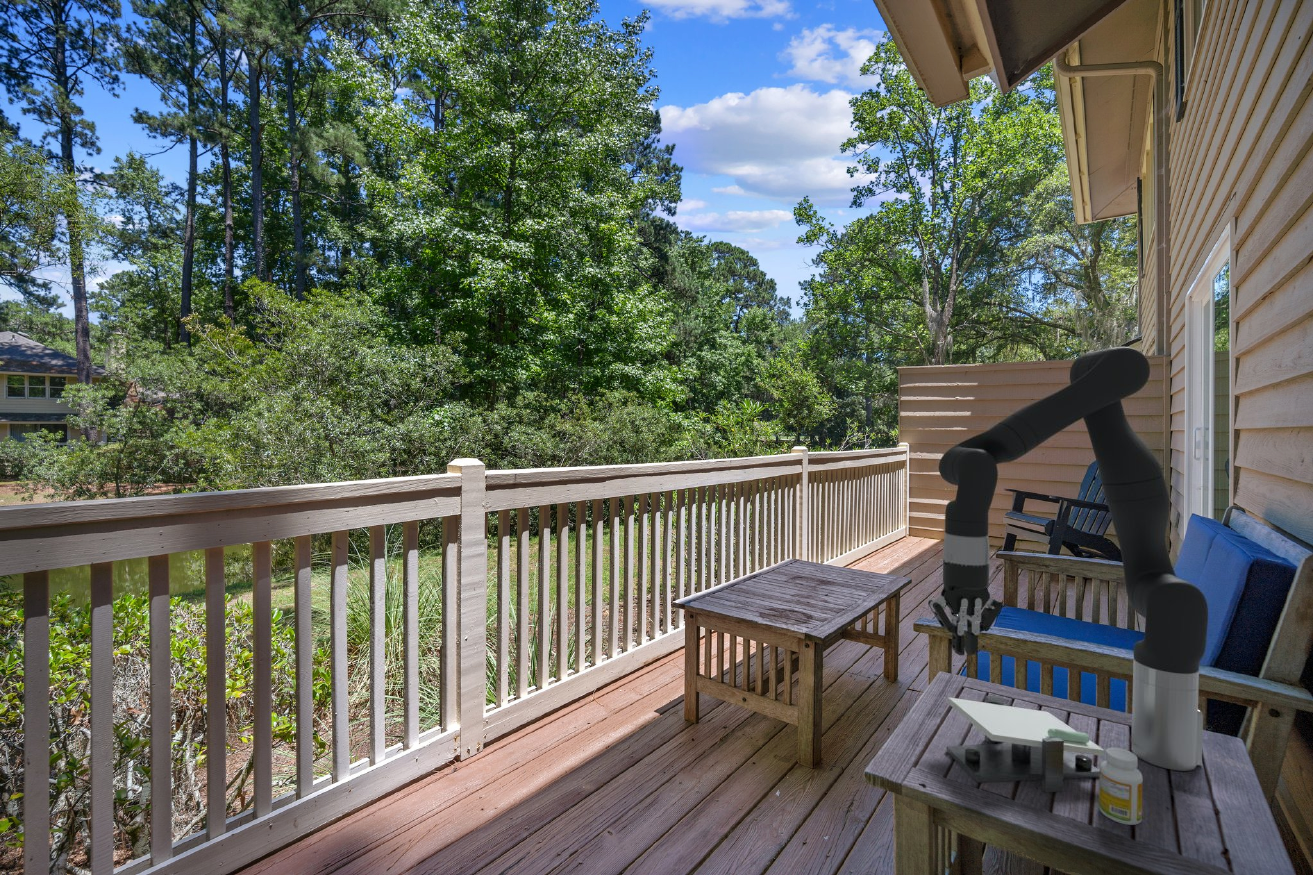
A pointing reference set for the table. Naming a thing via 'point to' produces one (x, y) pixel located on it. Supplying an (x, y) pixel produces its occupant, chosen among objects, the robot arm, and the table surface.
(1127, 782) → the supplement bottle
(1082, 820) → the table surface
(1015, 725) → the levelling plate
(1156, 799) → the table surface
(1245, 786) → the table surface
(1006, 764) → the base
